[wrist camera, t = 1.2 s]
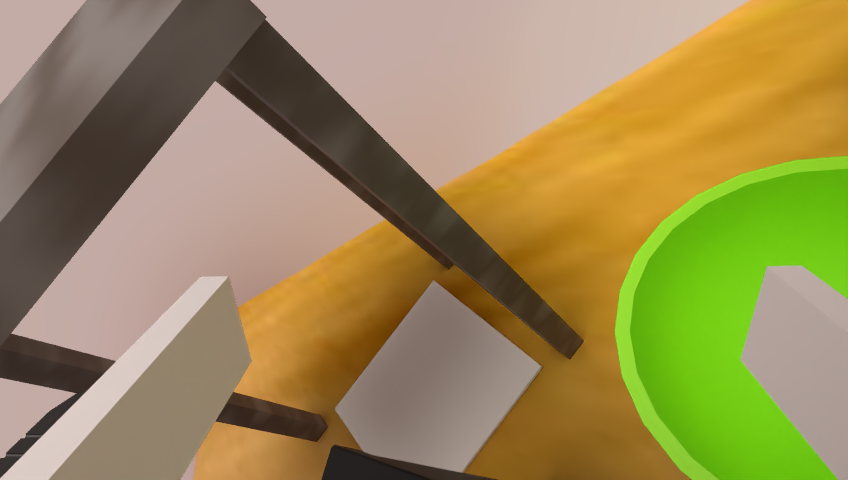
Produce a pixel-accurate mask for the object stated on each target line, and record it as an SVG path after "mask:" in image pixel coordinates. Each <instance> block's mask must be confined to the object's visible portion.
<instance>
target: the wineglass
mask: <svg viewBox="0 0 848 480" xmlns="http://www.w3.org/2000/svg"><path fill="white" fill-rule="evenodd" d="M767 266H803V267H804V268H806V269H807V270H808V271H810V272H811V273H813V274H814V275H815V276H817V277H818V278H819V279H821V280H822V281H824V282H825V283H826V284H828V285H829V286H830V287H832V288H833V289H835V290H836V291H837V292H839V293H840V294H841V295H843V296H844V297H846V298H847V299H848V156H838V157H826V158H814V159H802V160H793V161H789V162H785V163H781V164H778V165H774V166H770V167H766V168H762V169H758V170H754V171H751V172H747V173H743V174H740V175H738V176H736V177H734V178H732V179H729V180H727V181H725V182H723V183H721V184H719V185H717V186H715V187H713V188H710V189H708V190H706V191H704V192H702V193H700V194H698V195H696V196H695V197H693V198H692V199H691V200H690V201H688V202H687V203H686V204H684V205H683V206H682V207H680V208H679V209H678V210H676V211H675V212H674V213H673V214H671V215H670V216H669V217H667V218H666V219H665V220H663V221H662V222H661V223H660V224H659V226H658V227H657V228H656V229H655V231H654V232H653V233H652V234H651V236H650V237H649V238H648V239H647V241H646V242H645V243H644V244H643V246H642V247H641V248H640V249H639V251H638V252H637V253H636V254H635V257H634V259H633V261H632V264H631V266H630V268H629V271H628V273H627V275H626V278H625V280H624V282H623V285H622V287H621V289H620V292H619V301H618V309H617V317H616V325H615V337H616V343H617V349H618V356H619V362H620V368H621V374H622V378H623V380H624V382H625V384H626V386H627V389H628V391H629V393H630V395H631V397H632V400H633V402H634V404H635V406H636V409H637V411H638V413H639V415H640V417H641V420H642V422H643V423H644V425H645V426H646V427H647V429H648V430H649V431H650V432H651V434H652V435H653V436H654V437H655V439H656V440H657V441H658V443H659V444H660V445H661V446H662V448H663V449H664V450H665V452H666V453H667V454H668V455H669V457H670V458H671V459H672V461H673V462H674V463H675V464H676V466H677V467H678V468H679V469H680V470H681V471H682V472H683V473H684V474H686V475H687V476H688V477H689V478H690V479H692V480H838V479H837V478H836V477H835V475H834V474H833V473H832V472H831V470H830V469H829V468H828V467H827V465H826V464H825V463H824V462H823V461H822V459H821V458H820V457H819V456H818V454H817V453H816V452H815V451H814V450H813V448H812V447H811V446H810V445H809V443H808V442H807V441H806V440H805V439H804V437H803V436H802V435H801V434H800V432H799V431H798V430H797V429H796V428H795V426H794V425H793V424H792V423H791V421H790V420H789V419H788V418H787V417H786V415H785V414H784V413H783V412H782V410H781V409H780V408H779V407H778V405H777V404H776V403H775V402H774V401H773V399H772V398H771V397H770V396H769V394H768V393H767V392H766V391H765V390H764V388H763V387H762V386H761V385H760V383H759V382H758V381H757V380H756V379H755V377H754V376H753V375H752V374H751V372H750V371H749V370H748V369H747V368H746V366H745V365H744V364H743V363H742V361H741V360H740V359H741V355H742V352H743V348H744V345H745V341H746V338H747V334H748V331H749V327H750V324H751V320H752V317H753V313H754V310H755V306H756V303H757V299H758V296H759V292H760V289H761V285H762V282H763V278H764V275H765V271H766V267H767Z"/></svg>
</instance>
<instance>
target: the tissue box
mask: <svg viewBox="0 0 848 480" xmlns="http://www.w3.org/2000/svg"><path fill="white" fill-rule="evenodd" d="M322 480H496V479H491V478H486V477H481V476H476V475H471V474H466V473H461V472H456V471H451V470H446V469H441V468H436V467H431V466H426V465H421V464H416V463H411V462H406V461H401V460H395V459H390V458H385V457H380V456H375V455H372V454H369V453H366V452H363V451H360V450H357V449H353V448H348V447H343V446H338V445H333V447H332V448H331V451H330V454H329V457H328V460H327V464H326V467H325V470H324V473H323V477H322Z"/></svg>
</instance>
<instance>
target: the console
mask: <svg viewBox="0 0 848 480" xmlns="http://www.w3.org/2000/svg"><path fill="white" fill-rule="evenodd" d="M265 18H266V16H265V15H264V14H263V13H262V12H261V11H260V10H259V9H258V8H257V7H256V6H255V5H254V4H253V3H252V2H251V1H250V0H87V1H86V2H85V3H84V4H83V5H82V7H81V8H80V9H79V10H78V11H77V13H76V14H75V15H74V16H73V18H72V19H71V20H70V21H69V22H68V24H67V25H66V26H65V27H64V28H63V30H62V31H61V32H60V33H59V34H58V36H57V37H56V38H55V39H54V40H53V42H52V43H51V44H50V45H49V46H48V48H47V49H46V50H45V51H44V52H43V54H42V55H41V56H40V57H39V58H38V60H37V61H36V62H35V63H34V64H33V66H32V67H31V68H30V69H29V71H28V72H27V73H26V74H25V75H24V77H23V78H22V79H21V80H20V81H19V83H18V84H17V85H16V86H15V87H14V89H13V90H12V91H11V92H10V94H9V95H8V96H7V97H6V98H5V100H4V101H3V102H2V103H1V104H0V378H5V379H10V380H14V381H20V382H24V383H29V384H34V385H40V386H44V387H49V388H54V389H59V390H64V391H69V392H74V393H78V392H86V391H87V390H88V389H89V388H90V387H91V386H92V385H93V384H94V383H95V382H96V381H97V380H98V379H99V378H100V377H101V376H102V375H103V374H104V373H105V372H106V371H107V370H108V369H109V368H110V367H111V366H112V365H113V364H114V363H115V362H116V361H113V360H109V359H106V358H102V357H98V356H94V355H90V354H87V353H82V352H79V351H75V350H71V349H68V348H63V347H60V346H56V345H52V344H48V343H45V342H41V341H37V340H33V339H29V338H26V337H22V336H18V335H14V334H11V333H12V331H13V330H14V329H15V328H16V326H17V325H18V324H19V323H20V321H21V320H22V319H23V317H25V315H26V314H27V313H28V312H29V310H30V309H31V308H32V307H33V305H34V304H35V303H36V301H37V300H38V299H39V298H40V297H41V295H42V294H43V293H44V292H45V290H46V289H47V288H48V287H49V285H50V284H51V283H52V282H53V281H54V279H55V278H56V277H57V276H58V274H59V273H60V272H61V271H62V270H63V268H64V267H65V266H66V264H67V263H68V262H69V261H70V260H71V258H72V257H73V256H74V255H75V253H76V252H77V251H78V249H79V248H80V247H81V246H82V245H83V243H84V242H85V241H86V240H87V239H88V237H89V236H90V235H91V234H92V232H93V231H94V230H95V229H96V227H97V226H98V225H99V224H100V223H101V221H102V220H103V219H104V218H105V216H106V215H107V214H108V212H109V211H110V210H111V209H112V208H113V206H114V205H115V204H116V203H117V201H118V200H119V199H120V198H121V197H122V195H123V194H124V193H125V191H126V190H127V189H128V188H129V187H130V185H131V184H132V183H133V182H134V180H135V179H136V178H137V177H138V175H139V174H140V173H141V172H142V171H143V169H144V168H145V167H146V165H147V164H148V163H149V162H150V161H151V159H152V158H153V157H154V156H155V154H156V153H157V152H158V150H160V148H161V147H162V146H163V144H164V143H165V142H166V141H167V140H168V138H169V137H170V136H171V135H172V133H173V132H174V131H175V130H176V128H177V127H178V126H179V125H180V124H181V122H182V121H183V120H184V119H185V117H186V116H187V115H188V114H189V112H190V111H191V110H192V109H193V107H194V106H195V105H196V104H197V103H198V101H199V100H200V99H201V97H202V96H203V95H204V94H205V93H206V91H207V90H208V89H209V87H210V86H211V85H212V84H213V83H214V81H216V82H217V83H219V84H220V85H221V86H223V87H224V88H225V89H226V90H227V91H229V92H230V93H231V94H232V95H234V96H235V97H236V98H237V99H239V100H240V101H241V102H242V103H244V104H245V105H246V106H247V107H248V108H250V109H251V110H252V111H253V112H255V113H256V114H257V115H258V116H259V117H261V118H262V119H263V120H264V121H266V122H267V123H268V124H269V125H271V126H272V127H273V128H274V129H276V130H277V131H278V132H279V133H281V134H282V135H283V136H284V137H285V138H287V139H288V140H289V141H290V142H292V143H293V144H294V145H295V146H297V147H298V148H299V149H300V150H301V151H303V152H304V153H305V154H306V155H308V156H309V157H310V158H311V159H313V160H314V161H315V162H316V163H317V164H319V165H320V166H321V167H322V168H324V169H325V170H326V171H327V172H329V173H330V174H331V175H332V176H333V177H335V178H336V179H337V180H339V181H340V182H341V183H342V184H343V185H345V186H346V187H347V188H348V189H349V190H351V191H352V192H353V193H355V194H356V195H357V196H358V197H359V198H361V199H362V200H363V201H364V202H366V203H367V204H368V205H369V206H370V207H372V208H373V209H374V210H375V211H377V212H378V213H379V214H380V215H382V216H383V217H384V218H385V219H387V220H388V221H389V222H390V223H391V224H393V225H394V226H395V227H396V228H398V229H399V230H400V231H401V232H403V233H404V234H405V235H406V236H407V237H409V238H410V239H411V240H412V241H414V242H415V243H416V244H417V245H419V246H420V247H421V248H422V249H424V250H425V251H426V252H427V253H428V254H430V255H431V256H432V257H433V258H435V259H436V260H437V261H438V262H440V263H441V264H442V265H444V266H445V267H446V268H448V269H450V267H451V266H452V265H453V264H455V265H457V266H458V267H459V268H460V269H461V270H463V271H464V272H465V273H466V274H467V275H468V276H470V277H471V278H472V279H473V280H474V281H476V282H477V283H478V284H479V285H480V286H481V287H483V288H484V289H485V290H486V291H487V292H489V293H490V294H491V295H492V296H493V297H495V298H496V299H497V300H498V301H499V302H500V303H502V304H503V305H504V306H505V307H506V308H508V309H509V310H510V311H511V312H512V313H513V314H515V315H516V316H517V317H518V318H519V319H521V320H522V321H523V322H524V323H525V324H527V325H528V326H529V327H530V328H531V329H532V330H534V331H535V332H536V333H537V334H538V335H540V336H541V337H542V338H543V339H544V340H545V341H547V342H548V343H549V344H550V345H551V346H553V347H554V348H555V349H557V350H558V351H559V352H561V353H562V354H563V355H565V356H566V357H567V358H569V359H571V357H572V356H573V355H574V353H575V352H576V351H577V349H578V348H579V347H580V345H581V344H582V343H583V340H582V339H581V338H580V337H579V336H578V335H577V334H576V333H575V332H574V331H573V330H572V329H571V328H570V327H569V326H568V325H567V324H566V323H565V322H564V321H563V320H562V319H561V318H560V317H559V316H558V315H557V314H556V313H555V312H554V311H553V310H552V309H551V308H550V307H549V306H548V305H547V304H546V303H545V302H544V301H543V300H542V299H541V298H540V297H539V295H538V294H537V293H536V292H535V291H534V290H533V289H532V288H531V287H530V286H529V285H528V284H527V283H526V282H525V281H524V280H523V279H522V278H521V277H520V276H519V275H518V274H517V273H516V272H515V271H514V270H513V269H512V268H511V267H510V266H509V265H508V264H507V263H506V262H505V261H504V260H503V259H502V258H501V257H500V256H499V255H498V254H497V253H496V252H495V251H494V250H493V249H492V248H491V247H490V246H489V245H488V244H487V243H486V242H485V241H484V240H483V239H482V238H481V237H480V236H479V235H478V234H477V233H476V232H475V231H474V230H473V229H472V228H471V227H470V226H469V225H468V224H467V223H466V222H465V221H464V220H463V219H462V218H461V217H460V216H459V215H458V214H457V213H456V212H455V211H454V210H453V209H452V208H451V207H450V206H449V205H448V204H447V203H446V202H445V201H444V200H443V199H442V198H441V197H440V196H439V195H438V194H437V193H436V192H435V191H434V189H433V188H432V187H431V186H430V185H429V184H428V183H426V181H424V179H423V178H422V177H421V176H420V175H419V174H418V173H416V171H415V170H414V169H413V168H412V167H411V166H410V165H409V164H408V163H407V162H406V161H405V160H404V159H403V158H402V157H401V156H400V155H399V154H398V153H397V152H396V151H395V150H394V149H393V148H392V147H391V146H390V145H389V144H388V143H387V142H386V141H385V140H384V139H383V138H382V137H381V136H380V135H379V134H378V133H377V132H376V131H375V130H374V129H373V128H372V127H371V126H370V125H369V124H368V123H367V122H366V121H365V120H364V119H363V118H362V117H361V116H360V115H359V114H358V113H357V112H356V111H355V110H354V109H353V108H352V107H351V106H350V105H349V104H348V103H347V102H346V101H345V100H344V99H343V98H342V97H341V96H340V95H339V94H338V93H337V92H336V91H335V90H334V89H333V88H332V87H331V86H330V85H329V84H328V82H327V81H325V80H324V78H323V77H322V76H321V75H320V74H319V73H318V72H317V71H315V69H314V68H313V67H312V66H311V65H310V64H308V62H306V60H305V59H304V58H303V57H302V56H301V55H300V54H299V53H298V52H297V51H296V50H295V49H294V48H293V47H292V46H291V45H290V44H289V43H288V42H287V41H286V40H285V39H284V38H283V37H282V36H281V35H280V34H279V33H278V32H277V31H276V30H275V29H274V28H273V27H272V26H271V25H270V24H269V23H268V22H267V21H266V20H265ZM542 368H543V367H542V366H541V365H540V364H538V363H537V362H536V361H535V360H533V359H532V358H531V357H530V356H528V355H527V354H526V353H524V352H523V351H522V350H521V349H519V348H518V347H517V346H516V345H514V344H513V343H512V342H511V341H509V340H508V339H507V338H506V337H504V336H503V335H502V334H501V333H499V332H498V331H497V330H496V329H494V328H493V327H492V326H491V325H489V324H488V323H487V322H486V321H484V320H483V319H482V318H481V317H479V316H478V315H477V314H476V313H474V312H473V311H472V310H471V309H469V308H468V307H467V306H466V305H464V304H463V303H462V302H461V301H459V300H458V299H457V298H456V297H454V296H453V295H452V294H451V293H449V292H448V291H447V290H446V289H444V288H443V287H442V286H441V285H439V284H438V283H437V282H436V281H434V280H433V281H432V283H431V284H430V285H429V287H428V288H427V289H426V291H425V292H424V293H423V294H422V296H421V297H420V298H419V300H418V301H417V302H416V304H415V305H414V306H413V307H412V309H411V310H410V311H409V313H408V314H407V315H406V317H405V318H404V319H403V320H402V322H401V323H400V324H399V326H398V327H397V328H396V330H395V331H394V332H393V333H392V335H391V336H390V337H389V339H388V340H387V341H386V343H385V344H384V345H383V346H382V348H381V349H380V350H379V352H378V353H377V354H376V355H375V357H374V358H373V359H372V361H371V362H370V363H369V365H368V366H367V367H366V368H365V370H364V371H363V372H362V374H361V375H360V376H359V378H358V379H357V380H356V381H355V383H354V384H353V385H352V387H351V388H350V389H349V391H348V392H347V393H346V394H345V396H344V397H343V398H342V400H341V401H340V402H339V404H338V405H337V406H336V407H335V410H336V412H337V413H338V415H339V416H340V418H341V419H342V421H343V422H344V424H345V425H346V427H347V428H348V430H349V431H350V433H351V434H352V436H353V437H354V439H355V440H356V442H357V443H358V445H359V446H360V448H361V449H362V450H363V452H366V453H369V454H372V455H375V456H380V457H385V458H390V459H395V460H401V461H406V462H411V463H416V464H421V465H426V466H431V467H436V468H441V469H446V470H451V471H456V472H461V473H464V472H465V470H466V469H467V468H468V466H469V465H470V464H471V462H472V461H473V460H474V458H475V457H476V456H477V454H478V453H479V452H480V450H481V449H482V448H483V446H484V445H485V444H486V442H487V441H488V440H489V438H490V437H491V436H492V434H493V433H494V432H495V430H496V429H497V428H498V426H499V425H500V424H501V422H502V421H503V420H504V418H505V417H506V416H507V415H508V413H509V412H510V411H511V409H512V408H513V407H514V405H515V404H516V403H517V401H518V400H519V399H520V397H521V396H522V395H523V393H524V392H525V391H526V389H527V388H528V387H529V385H530V384H531V383H532V381H533V380H534V379H535V377H536V376H537V375H538V373H539V372H540V371H541V369H542ZM216 421H217V422H222V423H227V424H231V425H236V426H241V427H246V428H251V429H256V430H261V431H266V432H271V433H276V434H281V435H286V436H291V437H296V438H301V439H306V440H310V441H315V442H317V440H318V439H319V438H320V436H321V435H322V434H323V433H324V431H325V430H326V429H327V425H326V424H325V422H324V421H323V419H322V417H321V416H320V415H318V414H315V413H311V412H307V411H303V410H299V409H296V408H292V407H288V406H284V405H280V404H277V403H273V402H269V401H265V400H261V399H258V398H254V397H250V396H246V395H242V394H239V393H235V392H233V393H232V394H231V396H230V398H229V399H228V401H227V403H226V404H225V406H224V408H223V409H222V411H221V413H220V414H219V416H218V418H217V419H216Z"/></svg>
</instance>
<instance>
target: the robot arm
mask: <svg viewBox="0 0 848 480" xmlns="http://www.w3.org/2000/svg"><path fill="white" fill-rule="evenodd" d="M740 360H741V361H742V363H743V364H744V365H745V366H746V368H747V369H748V370H749V371H750V372H751V374H752V375H753V376H754V377H755V379H756V380H757V381H758V382H759V383H760V385H761V386H762V387H763V388H764V390H765V391H766V392H767V393H768V394H769V396H770V397H771V398H772V399H773V401H774V402H775V403H776V404H777V405H778V407H779V408H780V409H781V410H782V412H783V413H784V414H785V415H786V417H787V418H788V419H789V420H790V421H791V423H792V424H793V425H794V426H795V428H796V429H797V430H798V431H799V432H800V434H801V435H802V436H803V437H804V439H805V440H806V441H807V442H808V443H809V445H810V446H811V447H812V448H813V450H814V451H815V452H816V453H817V454H818V456H819V457H820V458H821V459H822V461H823V462H824V463H825V464H826V465H827V467H828V468H829V469H830V470H831V472H832V473H833V474H834V475H835V477H836V478H837V479H838V480H848V299H847V298H846V297H844V296H843V295H841V294H840V293H839V292H837V291H836V290H835V289H833V288H832V287H830V286H829V285H828V284H826V283H825V282H824V281H822V280H821V279H819V278H818V277H817V276H815V275H814V274H813V273H811V272H810V271H808V270H807V269H806V268H804V267H803V266H767V267H766V271H765V275H764V278H763V282H762V285H761V289H760V292H759V296H758V299H757V303H756V306H755V310H754V313H753V317H752V320H751V324H750V327H749V331H748V334H747V338H746V341H745V345H744V348H743V352H742V355H741V359H740ZM251 361H252V360H251V357H250V353H249V349H248V345H247V342H246V338H245V334H244V331H243V327H242V323H241V320H240V316H239V312H238V309H237V305H236V301H235V298H234V294H233V290H232V286H231V283H230V279H229V276H216V277H200V278H199V279H198V280H197V281H196V282H195V283H194V284H193V285H192V286H191V287H190V288H189V289H188V290H187V291H186V292H185V293H184V294H183V295H182V296H181V297H180V298H179V299H178V300H177V301H176V302H175V303H174V304H173V305H172V306H171V307H170V308H169V309H168V310H167V311H166V312H165V313H164V314H163V315H162V316H161V317H160V318H159V319H158V320H157V321H156V322H155V323H154V324H153V325H152V326H151V327H150V328H149V329H148V330H147V331H146V332H145V333H144V334H143V335H142V336H141V337H140V338H139V339H138V340H137V341H136V342H135V343H134V344H133V345H132V346H131V347H130V348H129V349H128V350H127V351H126V352H125V353H124V354H123V355H122V356H121V357H120V359H118V360H117V361H116V362H115V363H114V364H113V365H112V366H111V367H110V368H109V369H108V370H107V371H106V372H105V373H104V374H103V375H102V376H101V377H100V378H99V379H98V380H97V381H96V382H95V383H94V384H93V385H92V386H91V387H90V388H89V389H88V390H87V391H86V392H78V393H77V394H75V395H74V396H72V397H71V398H69V399H67V400H66V401H64V402H63V403H61V404H60V405H58V406H57V407H55V408H54V409H52V410H51V411H49V412H48V413H47V414H46V415H45V416H44V417H43V418H42V419H41V420H40V421H39V422H38V423H37V424H36V425H35V426H34V427H32V428H31V429H30V431H28V433H26V437H25V438H23V439H22V438H21V439H20V440H19V441H18V442H17V443H16V444H15V445H14V446H13V447H12V448H11V449H10V450H9V451H8V452H7V453H6V457H5V458H1V459H0V480H180V479H181V477H182V476H183V474H184V472H185V471H186V469H187V468H188V466H189V464H190V462H191V461H192V459H193V458H194V456H195V454H196V453H197V451H198V449H199V448H200V446H201V444H202V443H203V441H204V439H205V438H206V436H207V434H208V433H209V431H210V429H211V428H212V426H213V424H214V423H215V421H216V419H217V418H218V416H219V414H220V413H221V411H222V409H223V408H224V406H225V404H226V403H227V401H228V399H229V398H230V396H231V394H232V393H233V391H234V390H235V388H236V386H237V385H238V383H239V381H240V380H241V378H242V376H243V375H244V373H245V371H246V370H247V368H248V366H249V365H250V363H251Z"/></svg>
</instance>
